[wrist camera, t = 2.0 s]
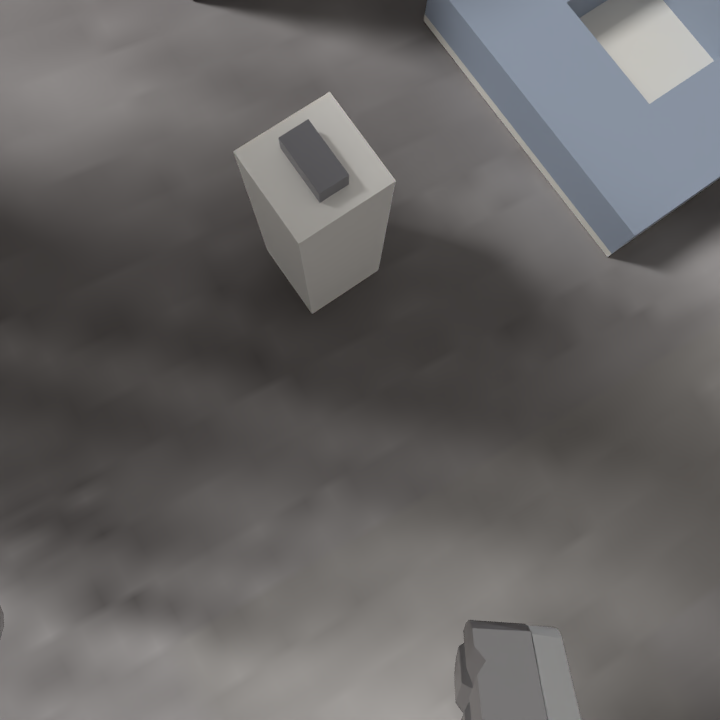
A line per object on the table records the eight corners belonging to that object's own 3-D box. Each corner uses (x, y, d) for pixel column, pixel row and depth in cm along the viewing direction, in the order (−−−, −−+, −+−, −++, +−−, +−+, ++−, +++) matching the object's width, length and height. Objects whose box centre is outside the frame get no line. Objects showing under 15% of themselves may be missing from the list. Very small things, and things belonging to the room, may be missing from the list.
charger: (266, 249, 31) (229, 141, 21) (332, 207, 32) (329, 79, 21) (312, 314, 31) (297, 236, 20) (378, 270, 31) (397, 171, 21)
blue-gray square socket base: (423, 20, 34) (431, -23, 31) (651, -119, 35) (679, -172, 33) (607, 257, 32) (634, 235, 29) (837, 96, 34) (885, 60, 31)
